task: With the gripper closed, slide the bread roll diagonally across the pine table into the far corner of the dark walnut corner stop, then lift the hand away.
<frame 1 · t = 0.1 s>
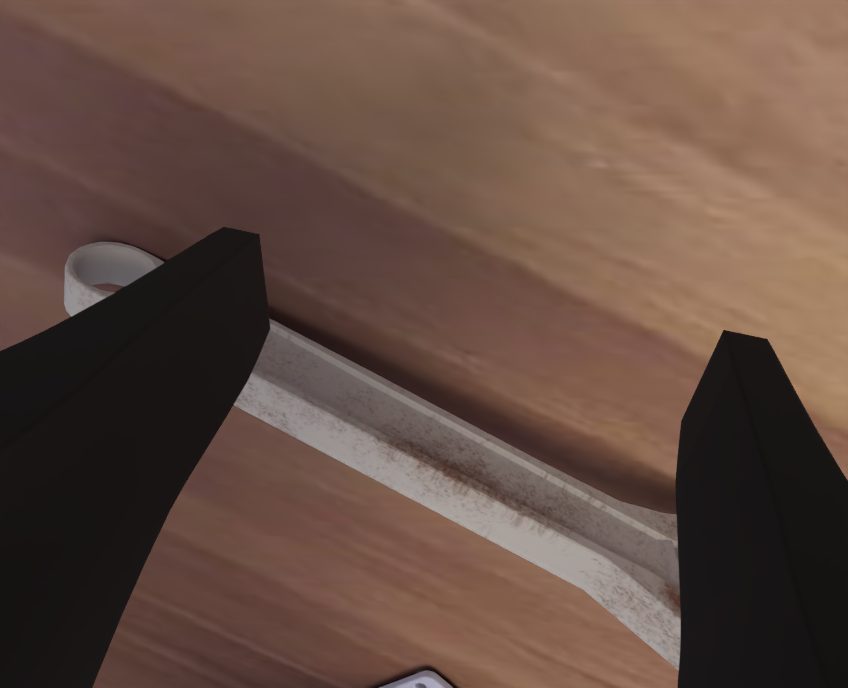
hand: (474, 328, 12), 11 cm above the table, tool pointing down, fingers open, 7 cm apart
wrench: (486, 411, 26), on the table
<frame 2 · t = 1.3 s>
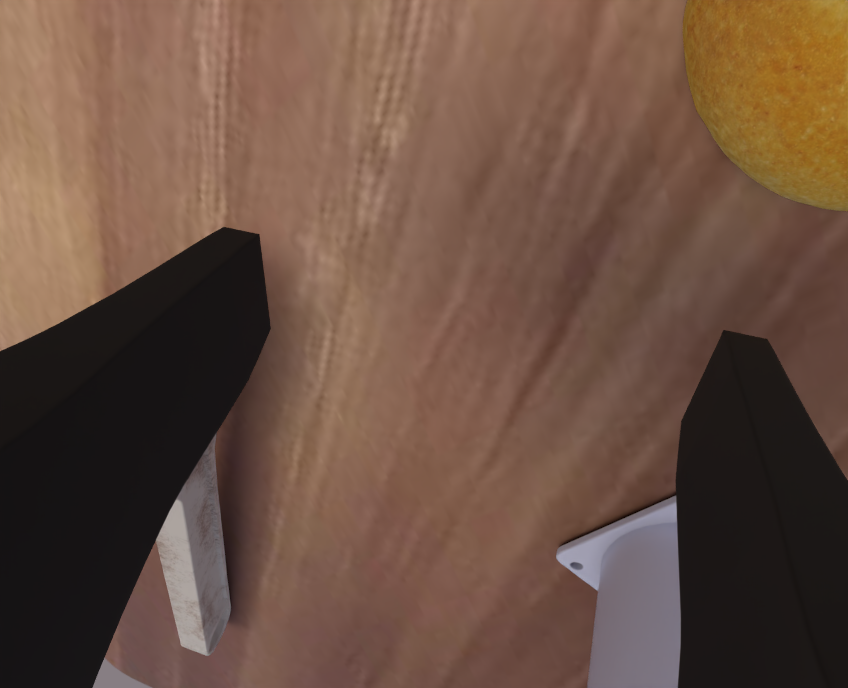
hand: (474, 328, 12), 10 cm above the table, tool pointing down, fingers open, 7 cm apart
wrench: (223, 465, 35), on the table
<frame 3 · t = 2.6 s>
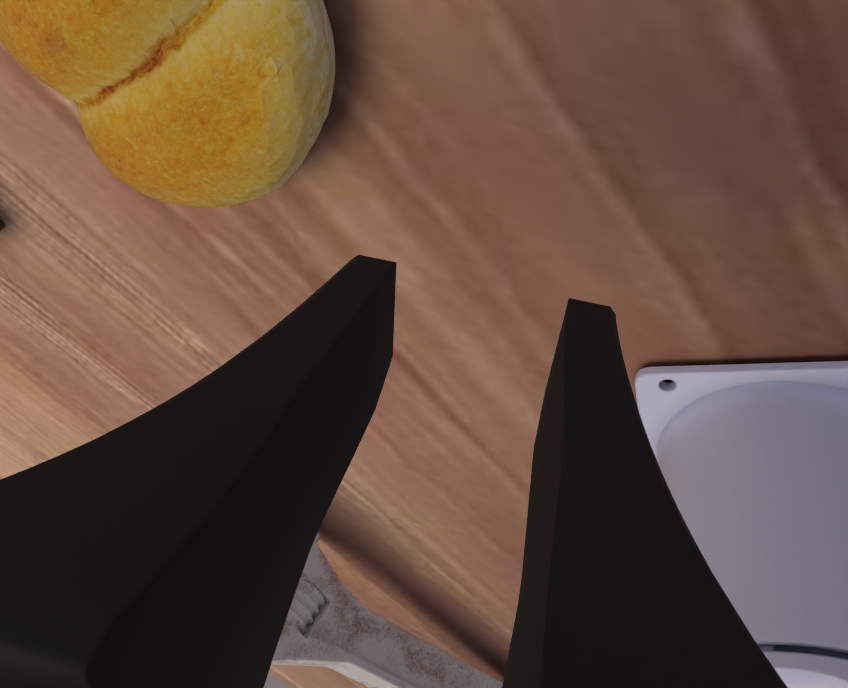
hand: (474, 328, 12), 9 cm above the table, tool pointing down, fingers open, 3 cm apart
bread roll: (189, 13, 20), on the table
wrench: (430, 611, 39), on the table
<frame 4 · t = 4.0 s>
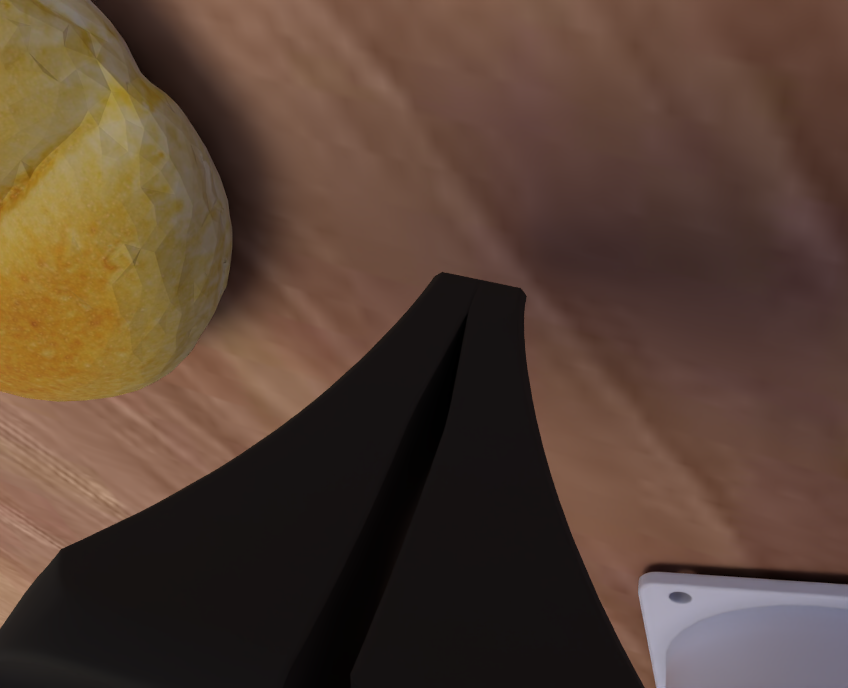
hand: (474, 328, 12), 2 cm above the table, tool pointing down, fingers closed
bread roll: (41, 148, 15), on the table
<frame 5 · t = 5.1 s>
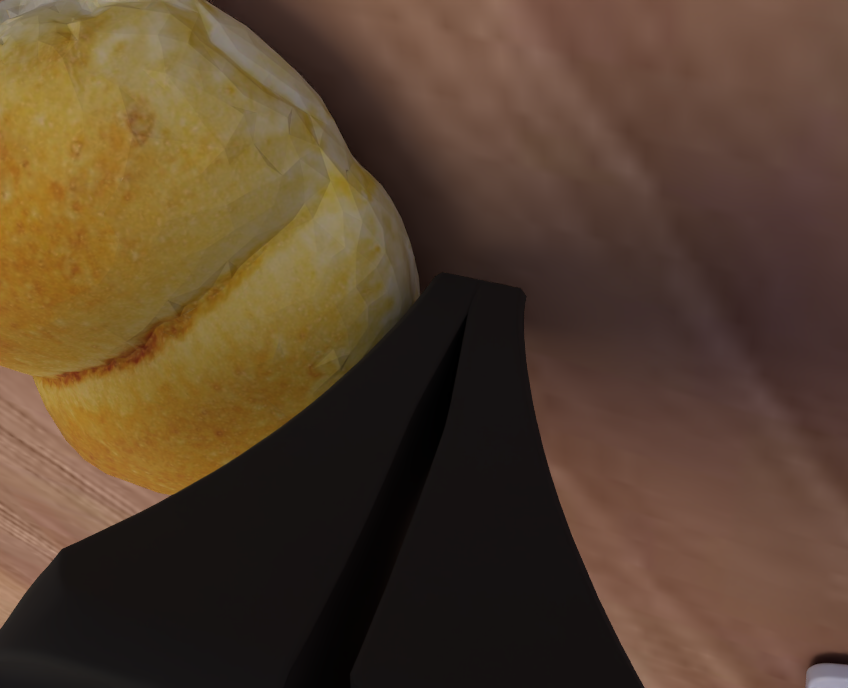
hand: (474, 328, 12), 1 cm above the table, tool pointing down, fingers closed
bread roll: (196, 220, 13), on the table, touching gripper
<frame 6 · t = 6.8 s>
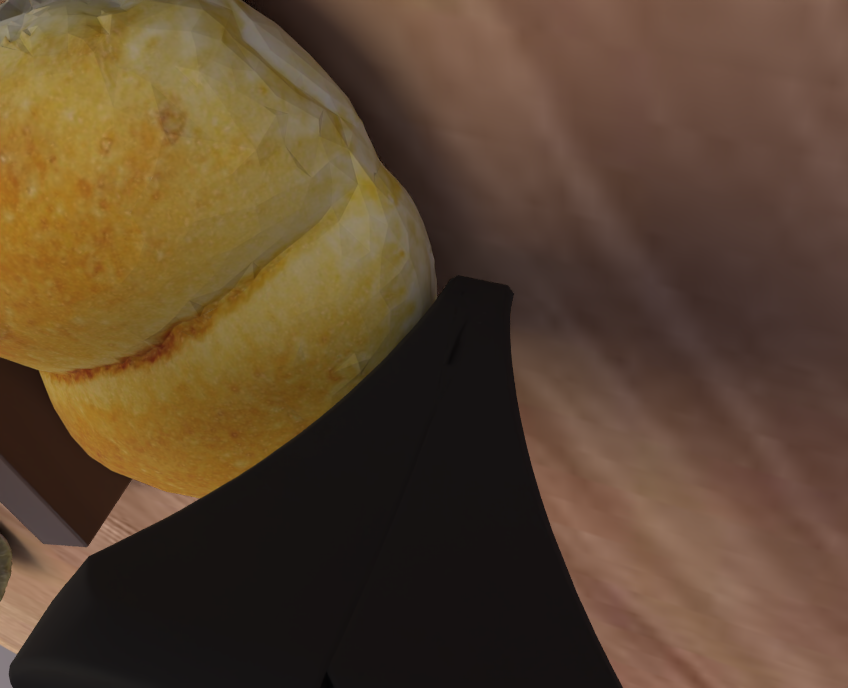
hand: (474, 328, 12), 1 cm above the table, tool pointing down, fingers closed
corner stop: (174, 236, 13), on the table
bread roll: (209, 216, 13), on the table, touching gripper
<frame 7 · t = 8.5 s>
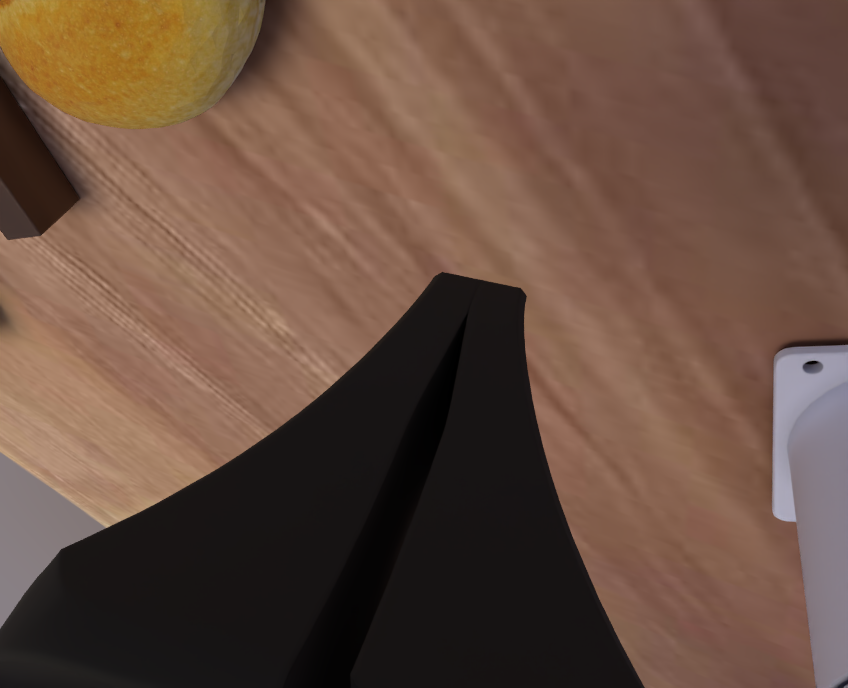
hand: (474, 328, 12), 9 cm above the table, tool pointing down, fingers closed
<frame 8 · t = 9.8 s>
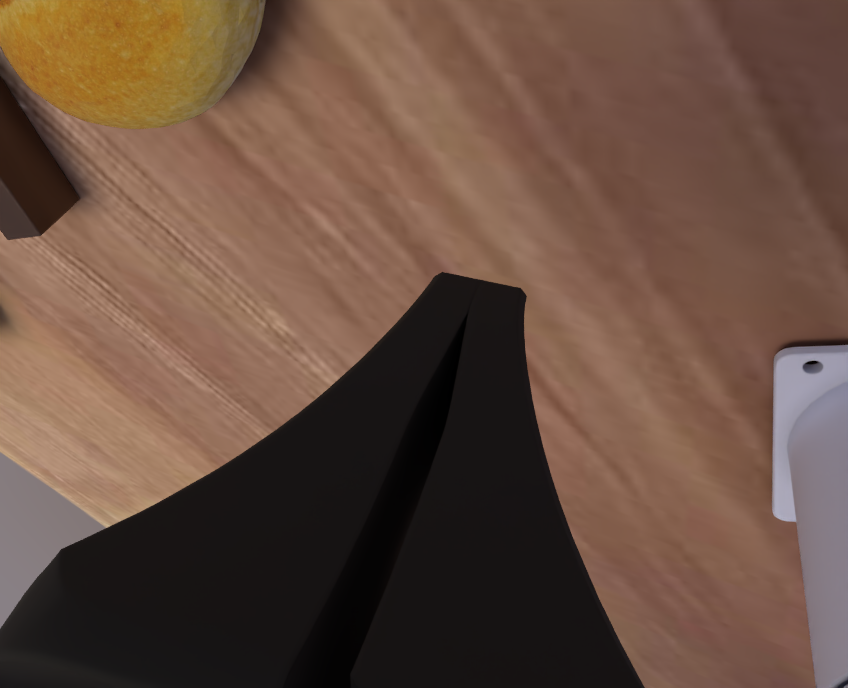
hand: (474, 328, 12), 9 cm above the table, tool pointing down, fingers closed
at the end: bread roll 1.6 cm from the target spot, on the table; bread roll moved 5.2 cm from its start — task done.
